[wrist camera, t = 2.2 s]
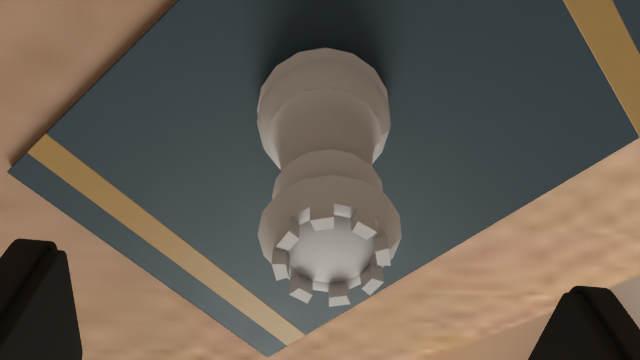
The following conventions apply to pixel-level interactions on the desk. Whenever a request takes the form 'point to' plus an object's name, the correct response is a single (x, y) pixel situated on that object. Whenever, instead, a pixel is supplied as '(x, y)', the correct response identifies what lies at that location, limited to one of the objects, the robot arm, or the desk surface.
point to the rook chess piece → (326, 175)
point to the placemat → (391, 166)
